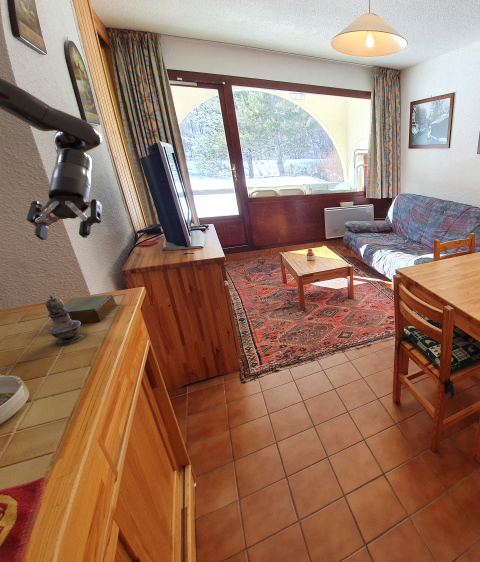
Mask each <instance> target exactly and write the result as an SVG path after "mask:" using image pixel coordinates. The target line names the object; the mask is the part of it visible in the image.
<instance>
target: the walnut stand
mask: <svg viewBox="0 0 480 562" xmlns="http://www.w3.org/2000/svg"><path fill="white" fill-rule="evenodd" d="M63 304H64V306H65V308H66V309H67V310H69V312H68V314H69V317H70V318H71V320H72V321H80V322H81V324H90V323H99V322H101V321H102V320H103V319H104V318H105V317H107V315H108V314H109V313H110V312H111V311H112V310H113V309H114V308H115V307H116V306H117V303H116V300H115V297H114V295H113V294H104V295H103V294H101V295H93V296H84V297H82V296H81V297H72V298H71V299H69V300H68V301H67V302H66V303H63ZM51 321H52V320H51ZM52 323H53V321H52ZM81 324H80V325H81Z"/></svg>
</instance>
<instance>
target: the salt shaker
mask: <svg viewBox="0 0 480 562" xmlns="http://www.w3.org/2000/svg"><path fill="white" fill-rule="evenodd" d="M64 304H65V303H64V301H63V300H62V299H61V298H59V297H54V296H53V295H50V296H49V299H48V300H46V301H45V303H44V305H45V307H46V310H47V312H48V314H47V317H48V318H50V319H51V321H53V322H52V326H51V327H49V328H48V329H47V333H48V334H50V335H51V336H52V337H53V338H55V339H56V340H55V342H54V343H55V344H54V345H56V346H66V345H67V346H68V345H71V344H74V343H76V342H79V341H81V340H82V339H83V338H84V337H85V333H82V332H80V331H81V322H80V321H72V320H71V318H70V317H69V314H68V312H69V310H67V309H66V308H65V306H64Z"/></svg>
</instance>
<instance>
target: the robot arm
mask: <svg viewBox="0 0 480 562" xmlns="http://www.w3.org/2000/svg"><path fill="white" fill-rule="evenodd" d="M0 110H1V111H3V112H4V113H6V114H8V115H10V116H11V117H14V118H15V119H17V120H18V121H21V122H22V123H24V124H26V125H28V126H30V127H32V128H34V129H35V130H38V131H41V132H54V131H55V134H54V136H53V143H54V149H55V153H56V158H55V164H54V168H53V170H52V173H51V177H50V183H49V187H48V192H47V193H48V200H47V201H46V202H39V201H37V200H33V201H31V202H30V206H29V209H28V213H27V216H26V221H27V222H29V223H30V224H32V225H33V226H35V228H34V233H33V234H34V236H36V238H38V239H39V240H41V241H47V238H48V232H49V227H50V226H51V225H52V224H53V223H57V222H58V221H59V220H66V219H76V218H79V219H80V220H82V221H80V222H79V229H78V235H79V236H80V237H82V238H83V239H85V238H86V239H87V238H88V237H89V236H90V235H91V231H92V226H93V224H101V223H102V218H103V217H102V214H103V213H102V212H103V211H102V210H103V205H102V204H101V203H100V202H99V201H98V200H97V199H96V198H93V199H91V200H90V201H89V199H90V192H91V187H92V185H91V184H92V179H91V178H92V177H91V175H92V168H93V160H92V158H91V157H90V155H89V154H88V153H87V152H88V151H91V150H94V149H95V148H98V147H99V146H100V145H101V144H102V143H103V142H102V141H103V137H102V135H101V133H100V132H99V130H98V129H96V128H95V126H93V125H92V124H91V123H89V122H87V121H86V120H84V119H82V118H80V117H78V116H75V115H73V114H70V113H67V112H65V111H63V110H60V109H57V108H55V107H52V106H51V105H49V104H48V103H46V102H44V101H43V100H41V99H40V98H38V97H36V96H35V95H33V94H32V93H30V92H28V91H27V90H25V89H23V88H21V87H19V86H17V84H14V83H12V82H11V81H9V80H7V79H4V78H2V77H0ZM88 209H90V215H89V216H87V215H86V214H85V212H86V211H87V210H88ZM51 214H52V215H53V216H52V215H51Z"/></svg>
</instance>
